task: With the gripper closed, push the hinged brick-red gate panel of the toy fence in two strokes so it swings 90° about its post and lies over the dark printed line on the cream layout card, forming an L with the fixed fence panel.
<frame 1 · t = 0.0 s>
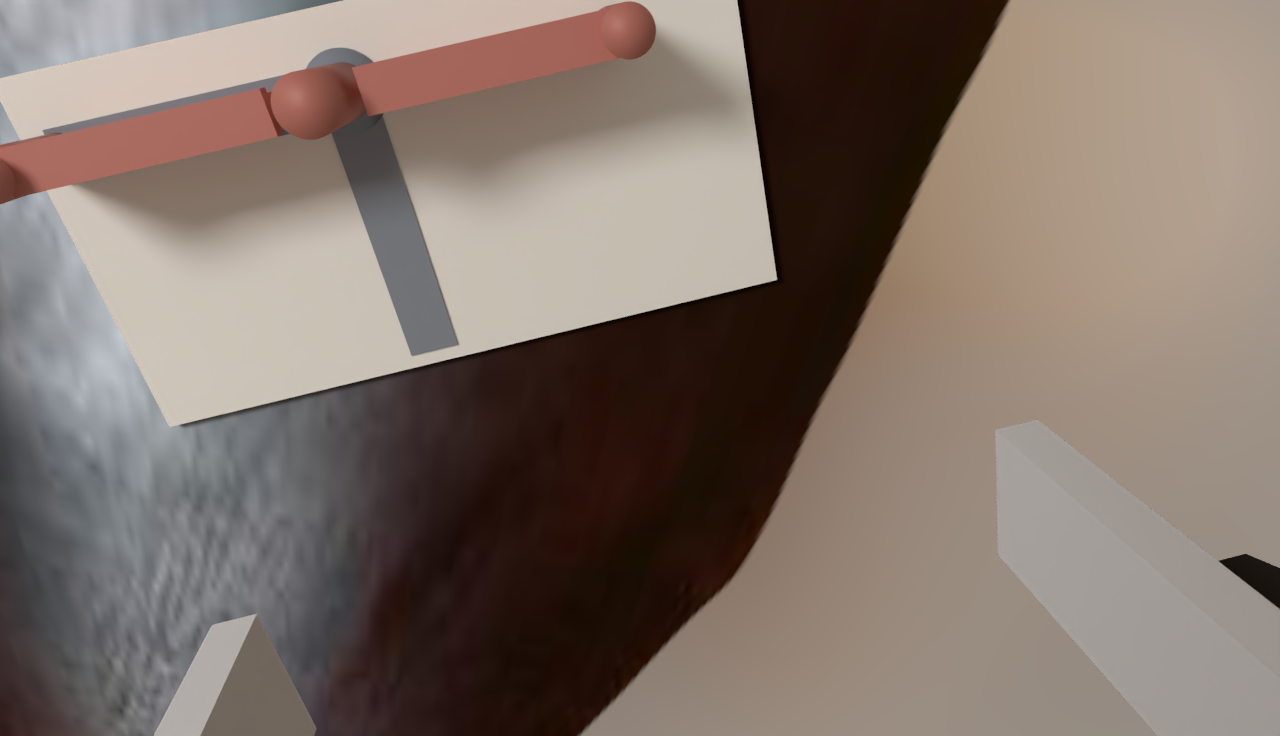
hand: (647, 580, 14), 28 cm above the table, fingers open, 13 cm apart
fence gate: (508, 56, 33), point 4 cm above the table, hinge at 90.0°
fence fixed: (345, 91, 36), resting on layout card
layout card: (426, 188, 38), on the table
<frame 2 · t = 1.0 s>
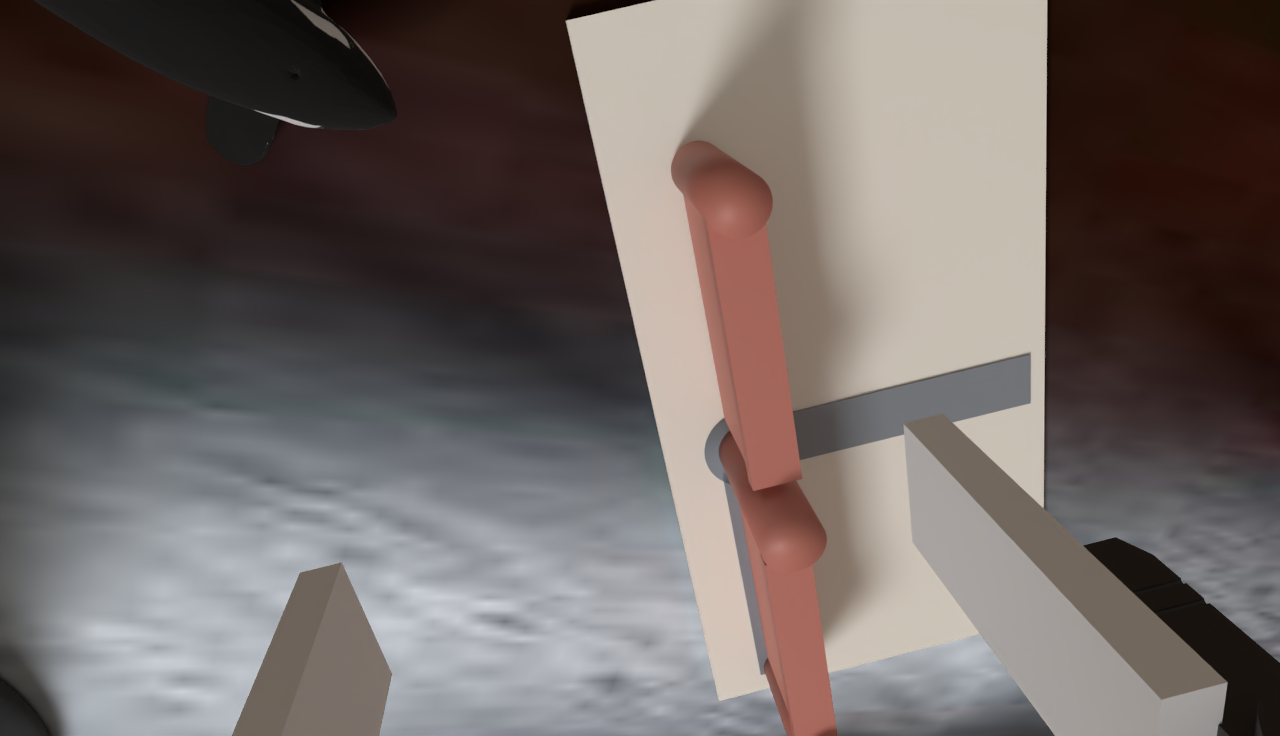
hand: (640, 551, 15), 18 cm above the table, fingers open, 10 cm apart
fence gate: (738, 316, 28), point 4 cm above the table, hinge at 90.0°
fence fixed: (745, 448, 34), resting on layout card
layout card: (848, 375, 34), on the table
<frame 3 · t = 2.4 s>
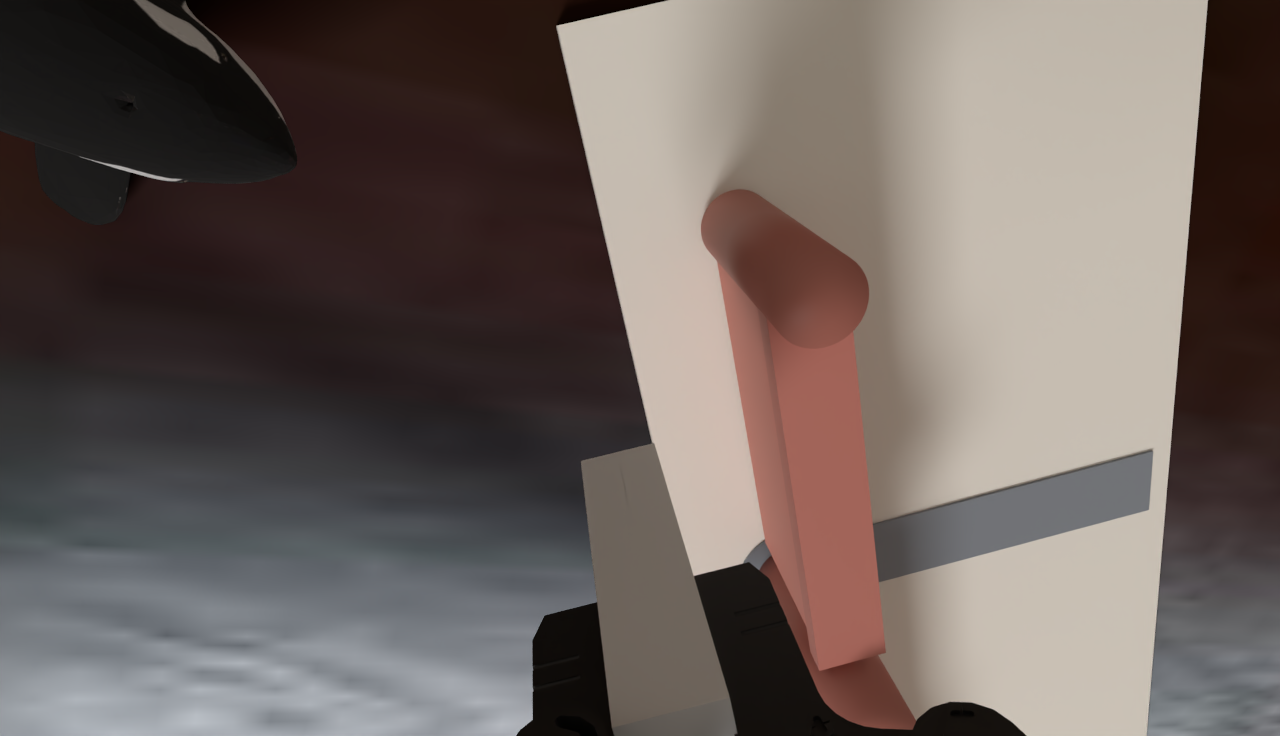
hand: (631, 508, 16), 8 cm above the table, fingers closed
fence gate: (796, 431, 20), point 4 cm above the table, hinge at 90.0°
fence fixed: (790, 575, 27), resting on layout card
layout card: (922, 480, 27), on the table
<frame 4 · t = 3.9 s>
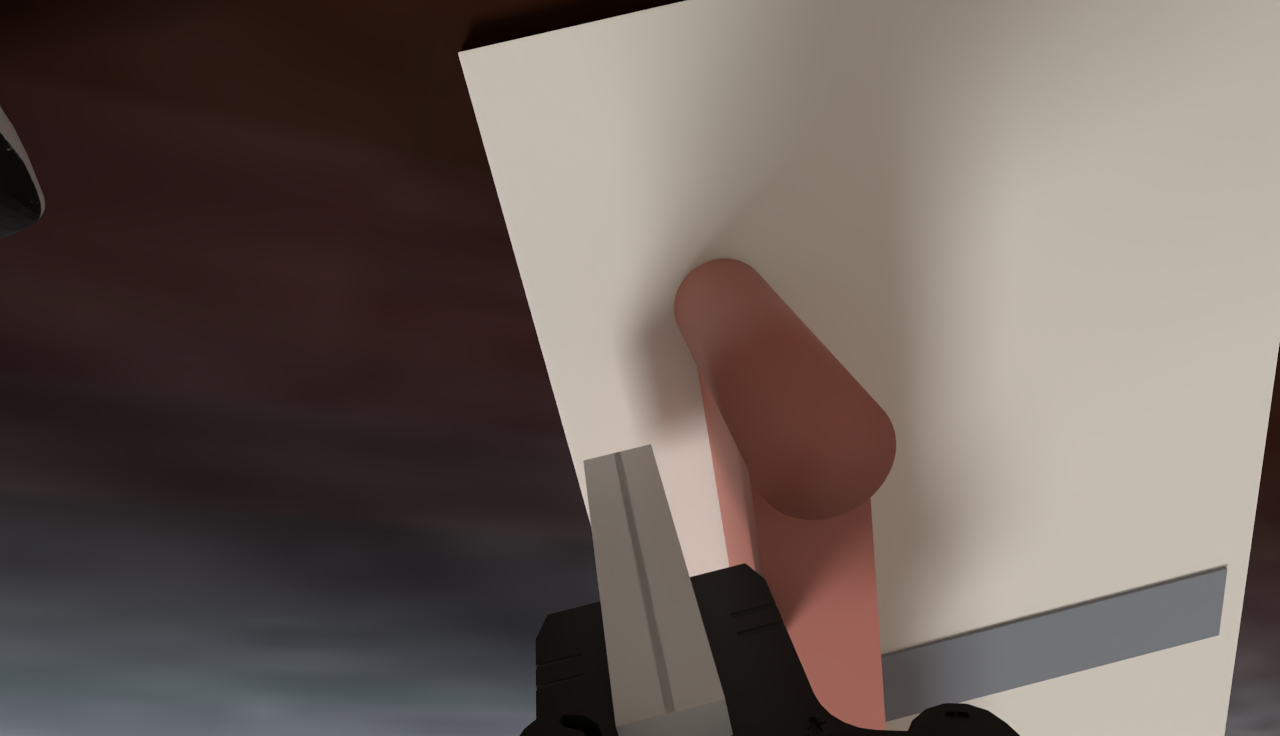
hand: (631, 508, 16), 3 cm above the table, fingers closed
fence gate: (788, 580, 16), point 4 cm above the table, hinge at 88.2°, touching gripper
layout card: (940, 602, 22), on the table
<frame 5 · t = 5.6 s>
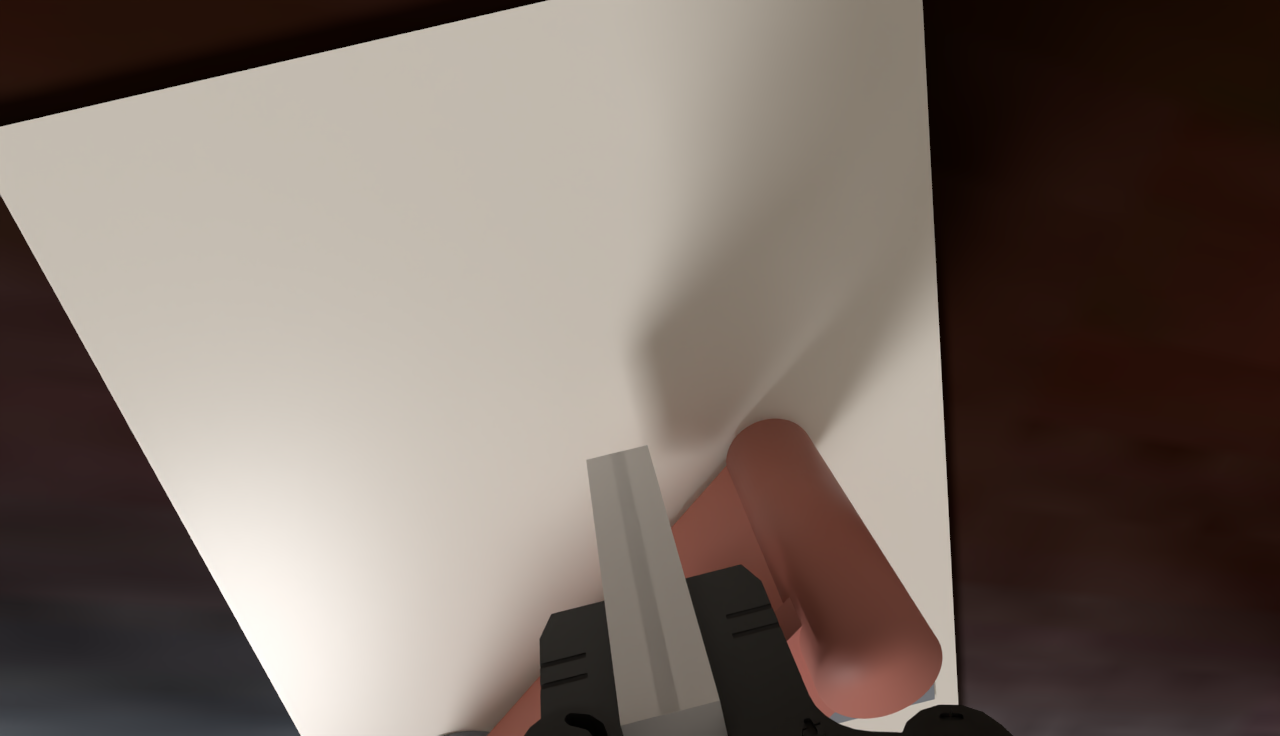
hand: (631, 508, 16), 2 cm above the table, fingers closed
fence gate: (661, 703, 16), point 4 cm above the table, hinge at 40.3°, touching gripper
layout card: (634, 666, 21), on the table
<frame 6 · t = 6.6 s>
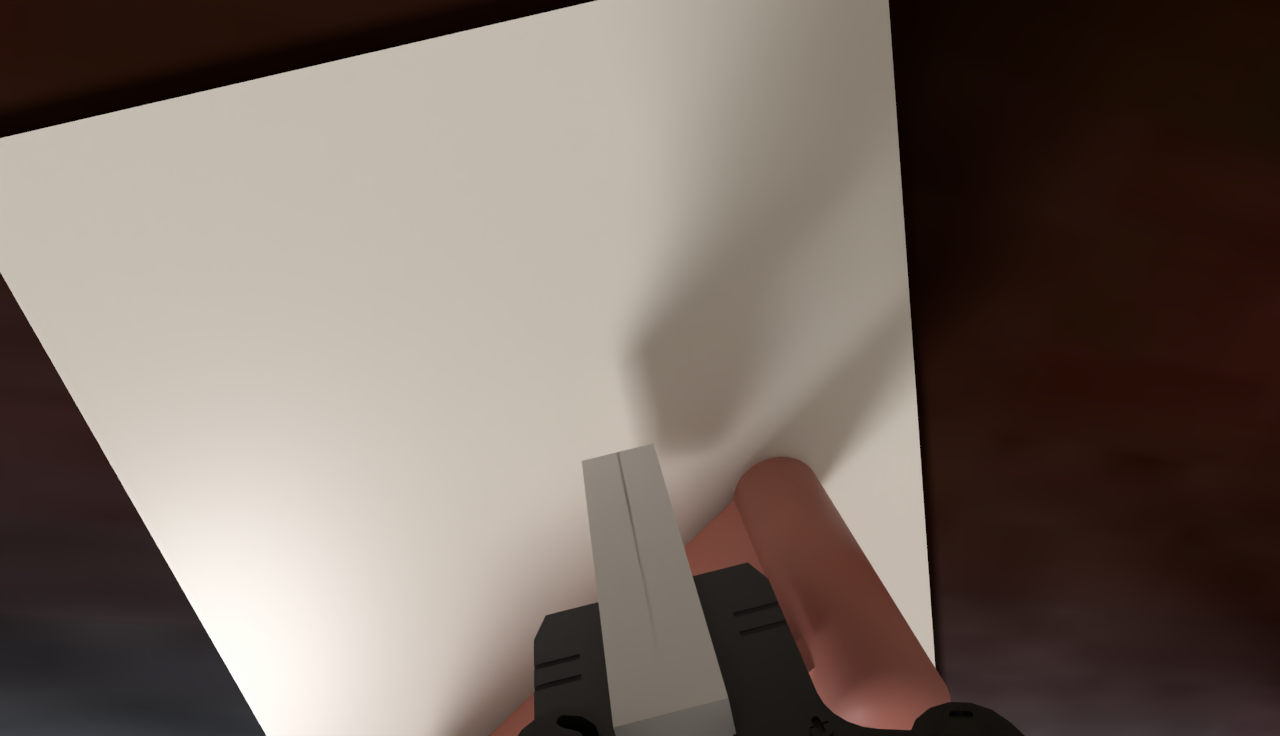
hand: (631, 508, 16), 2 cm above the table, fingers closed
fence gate: (658, 732, 16), point 4 cm above the table, hinge at 35.6°
layout card: (613, 682, 21), on the table
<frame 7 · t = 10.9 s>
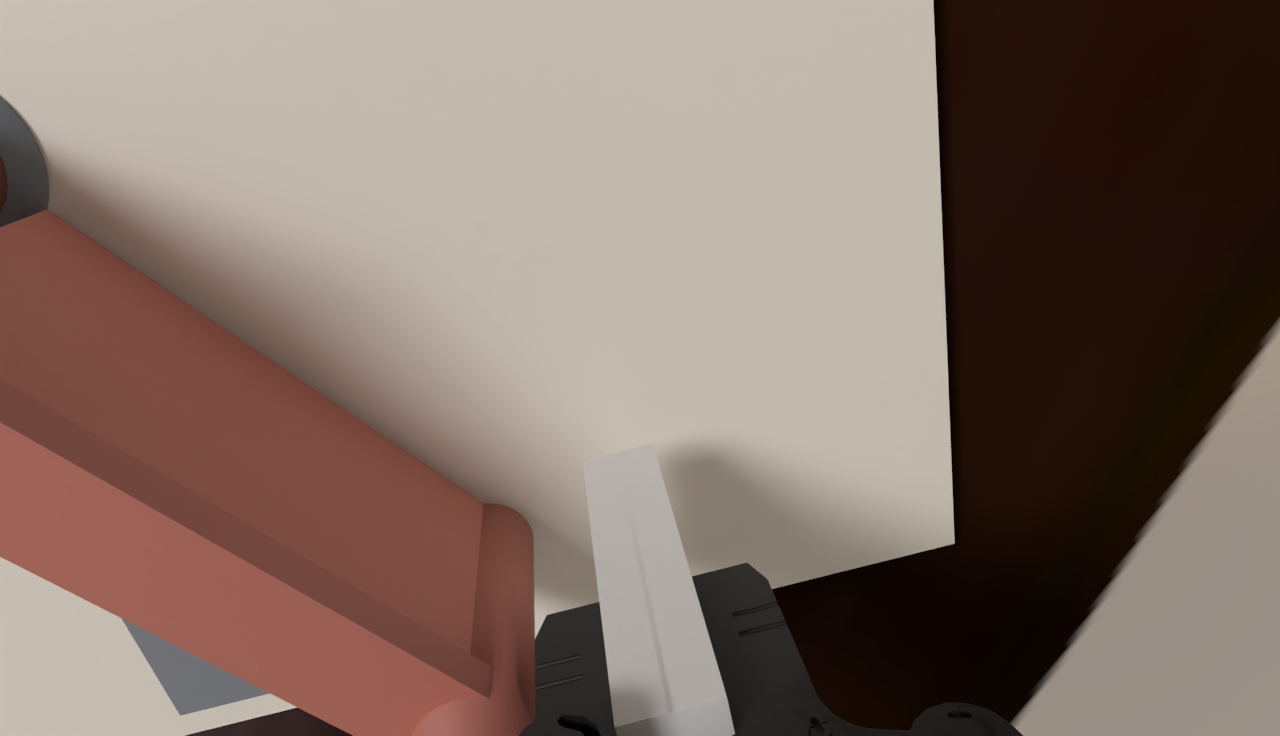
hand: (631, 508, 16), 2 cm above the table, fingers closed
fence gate: (257, 509, 13), point 4 cm above the table, hinge at 35.3°, touching gripper
layout card: (183, 383, 16), on the table
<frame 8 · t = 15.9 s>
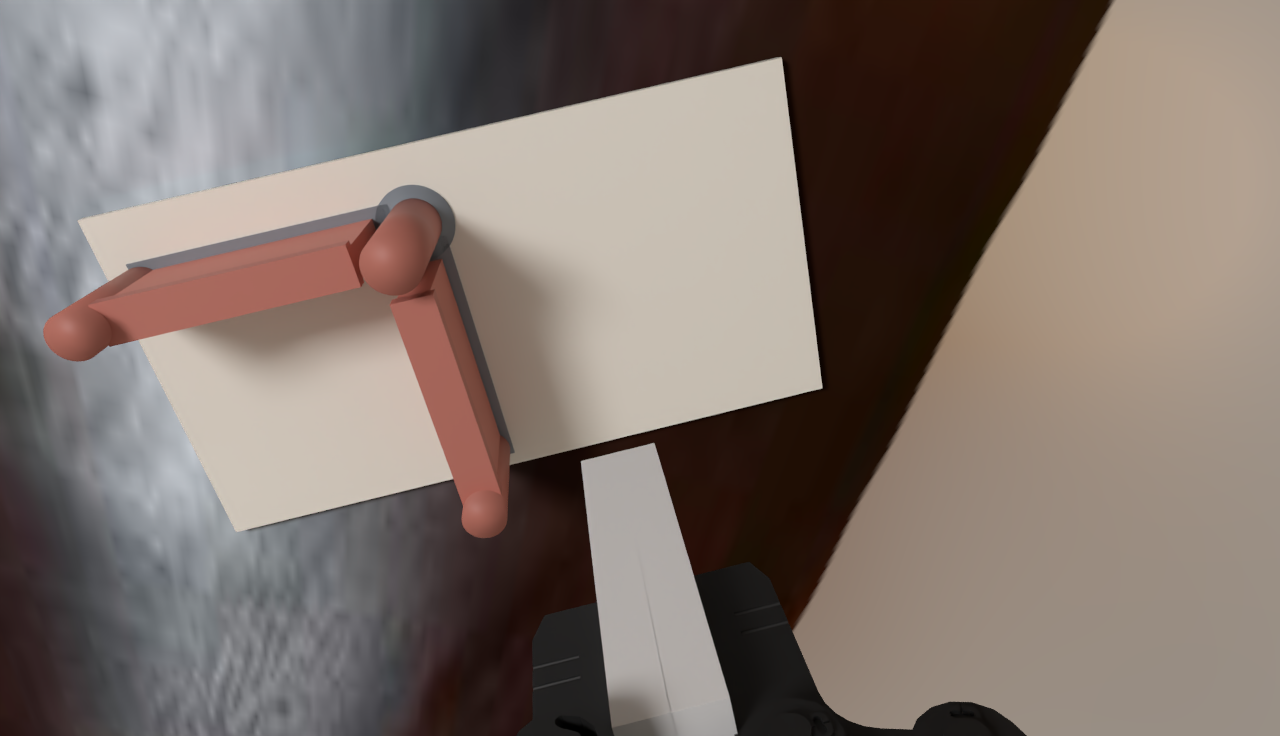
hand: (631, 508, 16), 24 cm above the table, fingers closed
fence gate: (458, 397, 37), point 4 cm above the table, hinge at 0.4°
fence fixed: (415, 223, 37), resting on layout card
layout card: (488, 309, 40), on the table
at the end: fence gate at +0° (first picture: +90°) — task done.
